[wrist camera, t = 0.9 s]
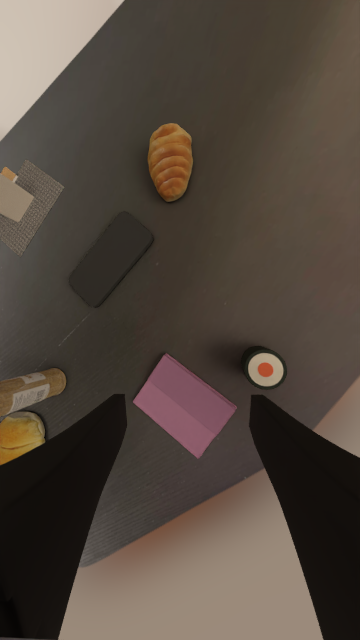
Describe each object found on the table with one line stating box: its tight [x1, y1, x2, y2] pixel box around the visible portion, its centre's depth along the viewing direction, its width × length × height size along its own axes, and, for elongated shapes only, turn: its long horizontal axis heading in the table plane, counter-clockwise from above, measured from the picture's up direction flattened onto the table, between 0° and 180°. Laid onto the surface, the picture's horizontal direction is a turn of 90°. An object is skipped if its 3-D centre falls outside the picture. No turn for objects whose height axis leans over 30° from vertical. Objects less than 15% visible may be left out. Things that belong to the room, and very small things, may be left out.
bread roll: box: [0, 412, 45, 465], centre depth 32 cm, size 8×9×4 cm
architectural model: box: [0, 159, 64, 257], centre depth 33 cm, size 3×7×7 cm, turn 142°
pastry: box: [148, 124, 193, 202], centre depth 28 cm, size 9×7×4 cm
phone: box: [69, 211, 153, 307], centre depth 31 cm, size 7×1×15 cm
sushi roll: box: [241, 346, 287, 390], centre depth 24 cm, size 4×4×5 cm
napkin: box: [133, 353, 237, 459], centre depth 27 cm, size 12×9×1 cm
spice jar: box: [0, 368, 66, 416], centre depth 26 cm, size 5×5×13 cm
